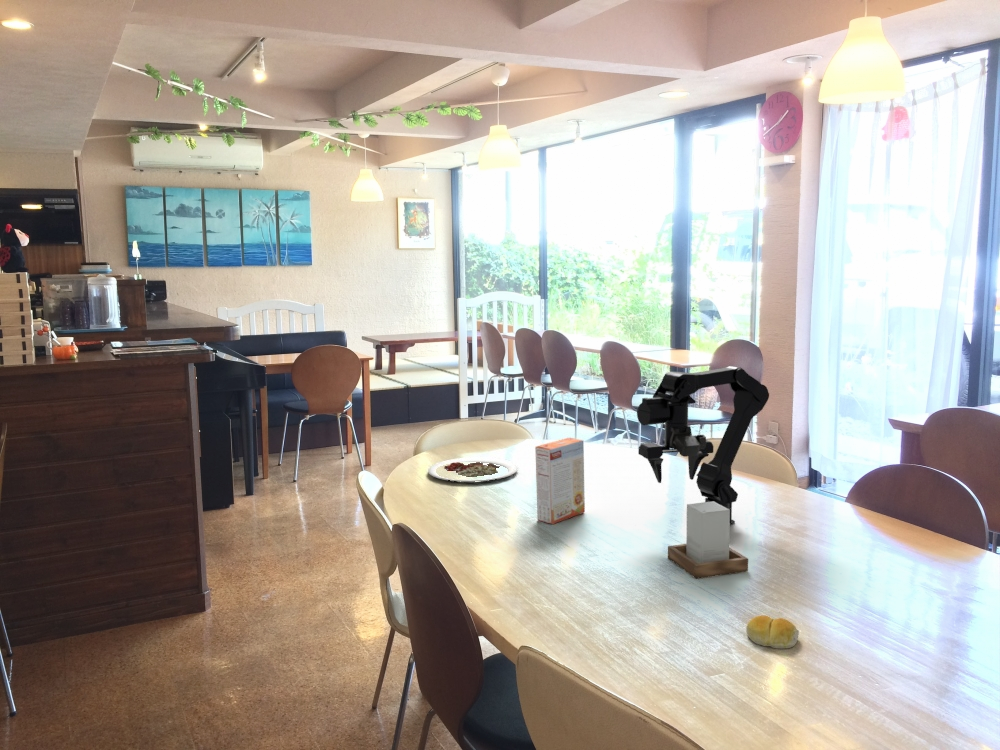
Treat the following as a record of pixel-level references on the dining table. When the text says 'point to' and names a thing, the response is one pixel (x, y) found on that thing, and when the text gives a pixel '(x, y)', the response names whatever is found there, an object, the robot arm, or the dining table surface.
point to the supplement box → (707, 532)
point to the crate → (708, 569)
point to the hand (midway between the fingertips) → (675, 481)
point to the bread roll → (772, 632)
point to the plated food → (474, 468)
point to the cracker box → (560, 480)
